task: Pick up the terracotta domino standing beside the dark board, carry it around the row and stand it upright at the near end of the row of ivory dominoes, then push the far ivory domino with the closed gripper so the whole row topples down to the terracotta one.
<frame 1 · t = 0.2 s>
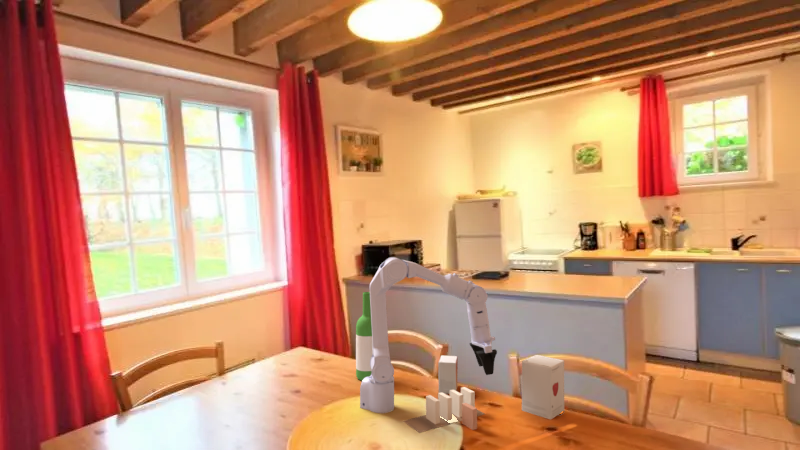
hand: (486, 369, 131), 10 cm above the table, tool pointing down, fingers open, 7 cm apart
domino 2: (456, 414, 122), point 1 cm above the table, touching board
domino 3: (444, 417, 120), point 1 cm above the table, touching board
domino 4: (432, 420, 118), point 1 cm above the table, touching board
domino 1: (467, 411, 124), point 1 cm above the table, touching board
wine bottle: (367, 378, 154), on the table
supplement box: (543, 413, 125), on the table
small box: (448, 392, 141), on the table
board: (444, 420, 120), on the table
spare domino: (469, 429, 115), on the table
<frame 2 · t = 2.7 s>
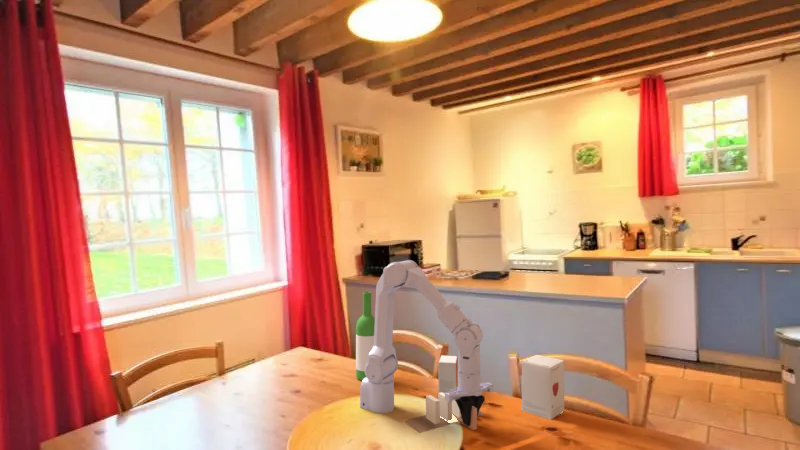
hand: (469, 423, 115), 1 cm above the table, tool pointing down, fingers closed on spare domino, 1 cm apart
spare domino: (469, 428, 115), on the table, touching gripper
everything else where it was.
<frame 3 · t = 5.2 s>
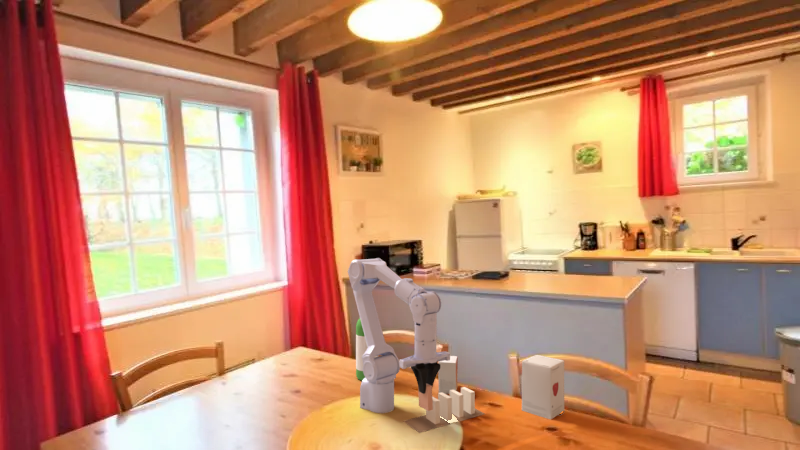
hand: (425, 391, 114), 10 cm above the table, tool pointing down, fingers closed on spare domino
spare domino: (425, 407, 114), point 6 cm above the table, touching gripper
everything else where it was.
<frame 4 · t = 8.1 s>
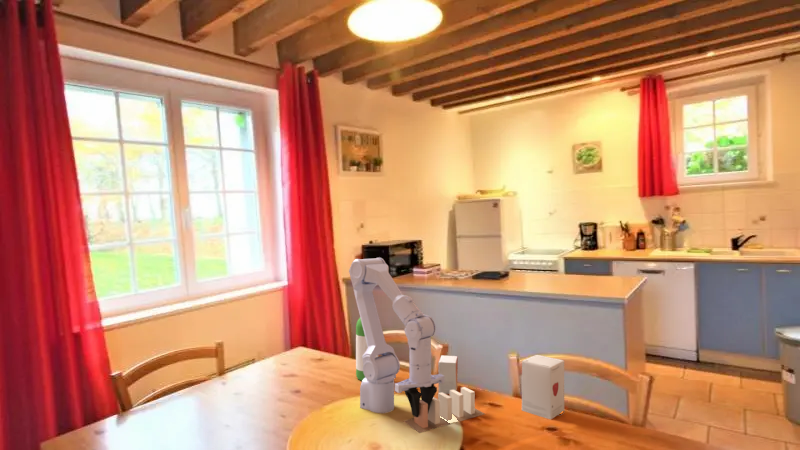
hand: (420, 414, 116), 3 cm above the table, tool pointing down, fingers closed
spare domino: (421, 424, 116), point 1 cm above the table, touching board
everything else where it was.
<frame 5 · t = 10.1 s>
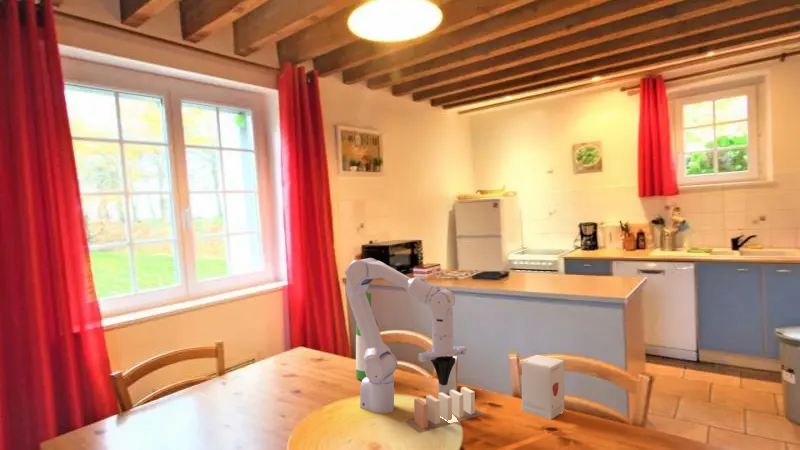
hand: (443, 384, 120), 10 cm above the table, tool pointing down, fingers closed
nothing on the table moved.
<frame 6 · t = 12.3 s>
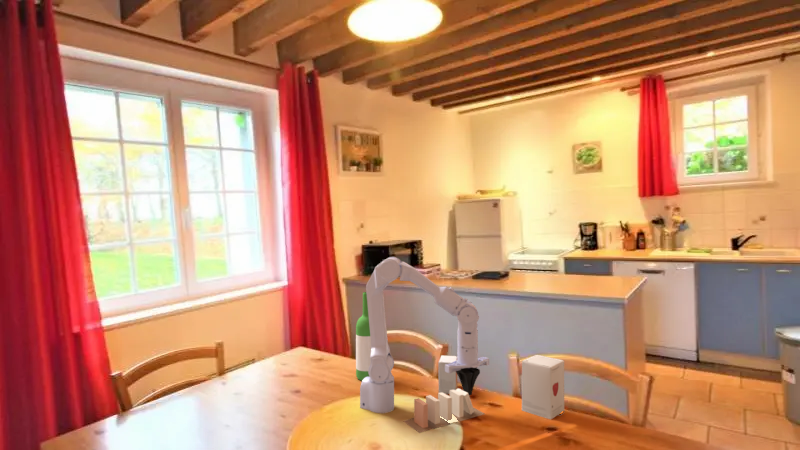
hand: (467, 394, 124), 6 cm above the table, tool pointing down, fingers closed
domino 1: (467, 410, 124), point 1 cm above the table, tilted 21°, touching board
everything else where it was.
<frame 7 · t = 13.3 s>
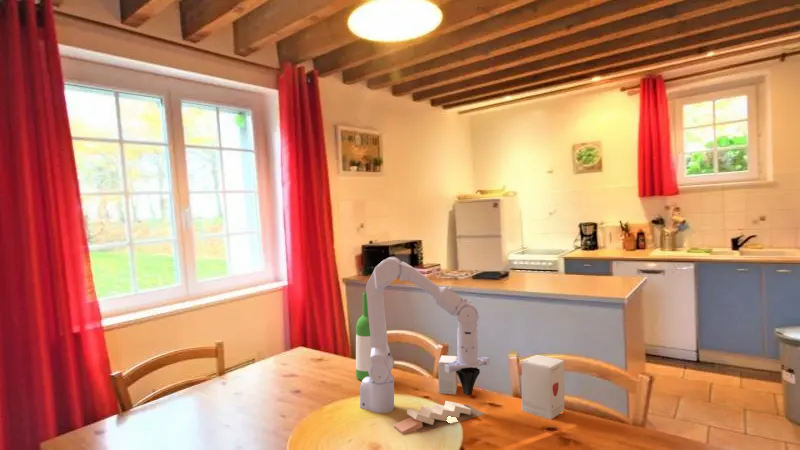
hand: (467, 394, 124), 6 cm above the table, tool pointing down, fingers closed
domino 2: (454, 412, 122), point 1 cm above the table, tilted 70°, touching board, domino 1, domino 3
domino 3: (442, 415, 120), point 1 cm above the table, tilted 69°, touching board, domino 2, domino 4
domino 4: (428, 419, 117), point 1 cm above the table, tilted 63°, touching board, domino 3, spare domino
domino 1: (465, 409, 124), point 1 cm above the table, tilted 69°, touching board, domino 2
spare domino: (417, 421, 115), point 2 cm above the table, tilted 102°, touching board, domino 4
everything else where it was.
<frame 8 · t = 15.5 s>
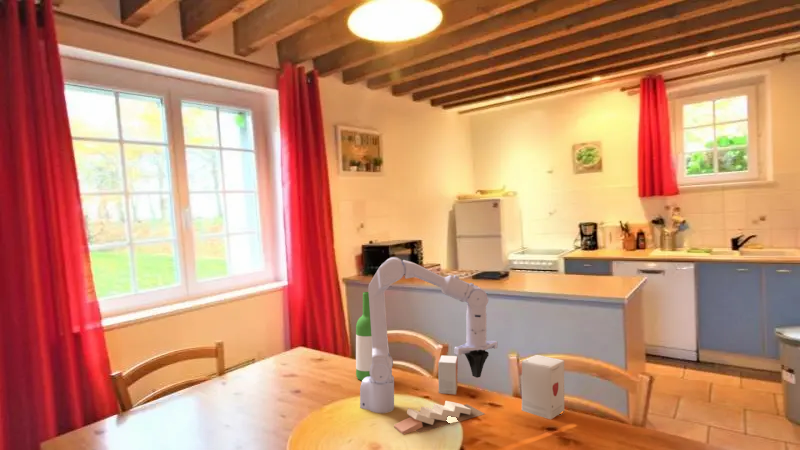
hand: (476, 376, 126), 10 cm above the table, tool pointing down, fingers closed
nothing on the table moved.
at the end: domino 1 tilted 69°; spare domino tilted 102°; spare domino inside the target area on the board (0.2 cm from its centre), point 1.9 cm above the board's base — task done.
